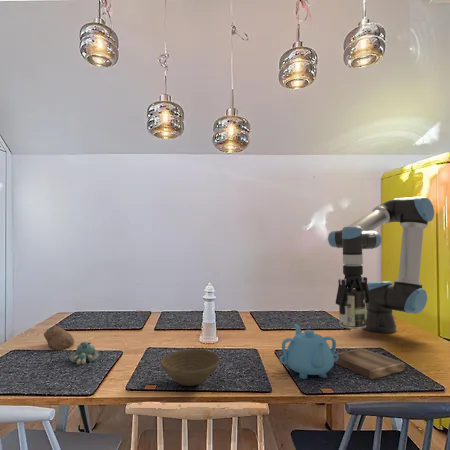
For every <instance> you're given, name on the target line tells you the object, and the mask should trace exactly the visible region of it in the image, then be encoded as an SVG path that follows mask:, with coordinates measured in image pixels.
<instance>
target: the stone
mask: <svg viewBox="0 0 450 450" xmlns="http://www.w3.org/2000/svg"><path fill="white" fill-rule="evenodd" d="M43 337H44V338H45V341H46V342H47V346H48V347H51V348H52V349H54V350H56V351H60V350H64V349H66V348H67V349H69V348H70V347H72V346H73V345H74V344H75V338H74V336H73V335H72V334H71V333H70V332H68V331H67V330H66V329H64V328H63V327H60V326H58V325H53V326H52V327H49V328H48V329H46V331H45V332H44V333H43Z"/></svg>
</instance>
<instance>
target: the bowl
mask: <svg viewBox="0 0 450 450" xmlns="http://www.w3.org/2000/svg"><path fill="white" fill-rule="evenodd" d="M159 362H160V366H161V368H162V370H163V371H164V372H165V373H166V374H167V375H168V376H169V377H170V378H172V380H173V381H174V382H175V383H177V384H178V385H181V386H185V387H192V386H196V385H199V384H200V383H202V382H204V381H206V379H208V378H209V376H210V375H211V374H212V373H214V371H215V370H216V369H217V367H218V365H219V363H220V356H219V355H218V354H217V353H215V352H214V351H210V350H206V349H205V350H204V349H184V350H179V351H175V352H171V353H169V354H166V355H165V356H163V358H161V359H160V361H159Z"/></svg>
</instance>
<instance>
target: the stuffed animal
mask: <svg viewBox="0 0 450 450" xmlns="http://www.w3.org/2000/svg"><path fill="white" fill-rule="evenodd" d="M99 357H100V353H99V352H98V351H97V350H96V348H95V346H94V344H93V342H91V341H87V342H86V341H82V342H81V343H79V344H78V345H77V347H76V350H75V351H74V352H73V353H70V355H69V356H68V359H69V361H70V362H71V363H74V364H75V362H76V365H80V364H82V365H84V364H86V361H87V362H90V363H91V362H95V361H96V360H97V359H98V358H99ZM94 360H95V361H94Z"/></svg>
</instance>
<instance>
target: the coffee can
mask: <svg viewBox="0 0 450 450" xmlns="http://www.w3.org/2000/svg"><path fill="white" fill-rule="evenodd" d="M346 294H347V295H348V300H347V303H346V306H347V317H348V323H344V322H341V314H340V306H339V305H338V310H339V311H338V314H339V317H338V318H339V319H338V320H339V324H338V325H339V326H340V327H341V328H345V329H353V330H360V329H361V330H362V329H364V328H365V327H366V313H367V312H366V313H365V291H364V290H363V291H358V290H356V289H355V288H354V289H352V291H351V292H350V293H347V292H344V295H346Z"/></svg>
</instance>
